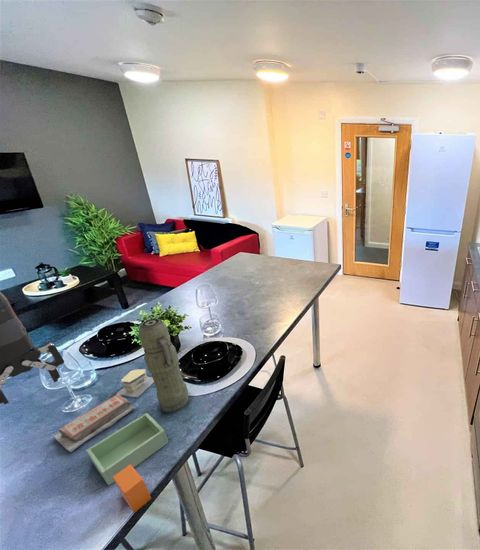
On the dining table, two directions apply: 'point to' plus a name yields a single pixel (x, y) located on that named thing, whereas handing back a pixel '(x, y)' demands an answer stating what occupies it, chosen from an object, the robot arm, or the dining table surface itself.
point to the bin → (127, 447)
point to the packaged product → (93, 422)
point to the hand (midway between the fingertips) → (31, 390)
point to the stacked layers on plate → (135, 383)
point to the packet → (132, 488)
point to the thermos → (163, 365)
